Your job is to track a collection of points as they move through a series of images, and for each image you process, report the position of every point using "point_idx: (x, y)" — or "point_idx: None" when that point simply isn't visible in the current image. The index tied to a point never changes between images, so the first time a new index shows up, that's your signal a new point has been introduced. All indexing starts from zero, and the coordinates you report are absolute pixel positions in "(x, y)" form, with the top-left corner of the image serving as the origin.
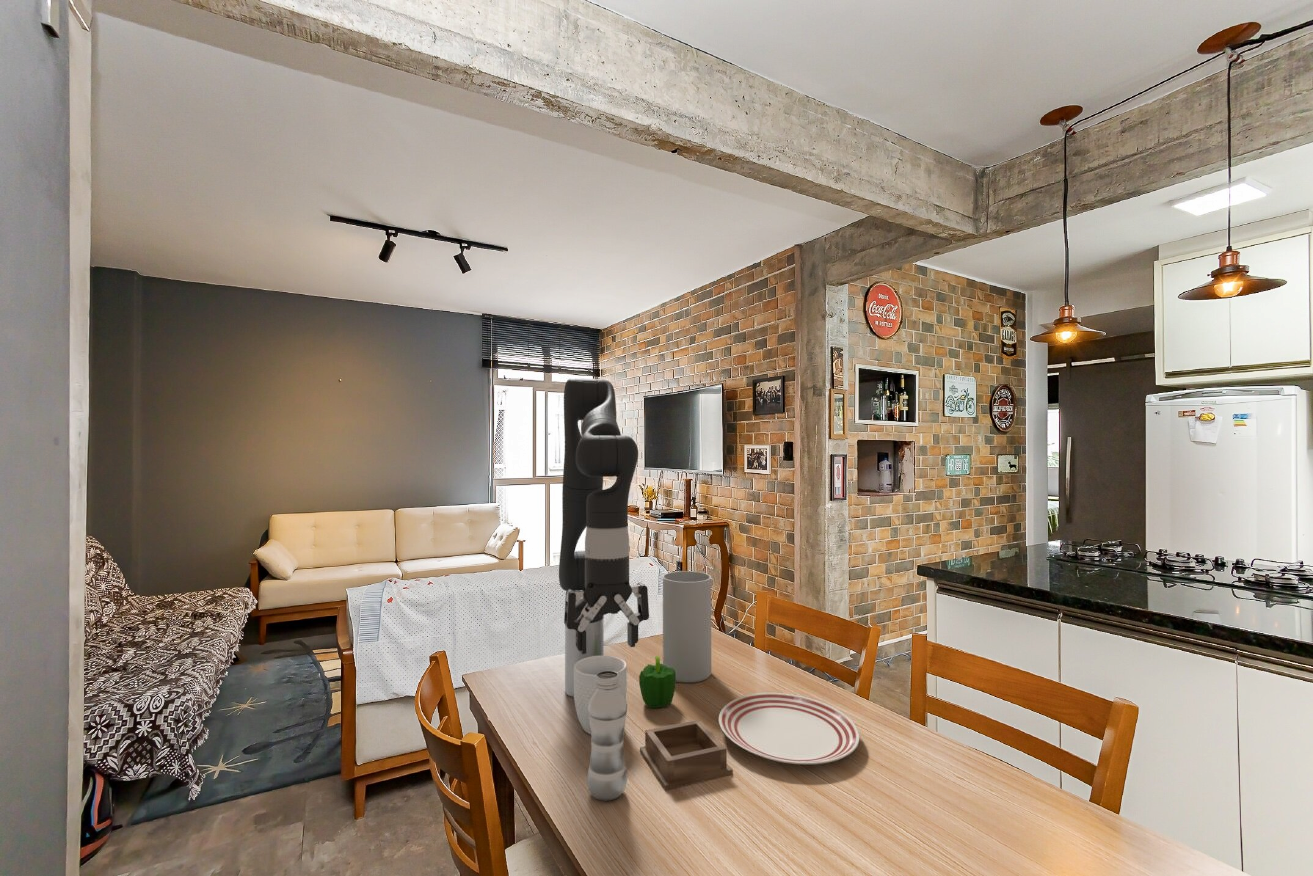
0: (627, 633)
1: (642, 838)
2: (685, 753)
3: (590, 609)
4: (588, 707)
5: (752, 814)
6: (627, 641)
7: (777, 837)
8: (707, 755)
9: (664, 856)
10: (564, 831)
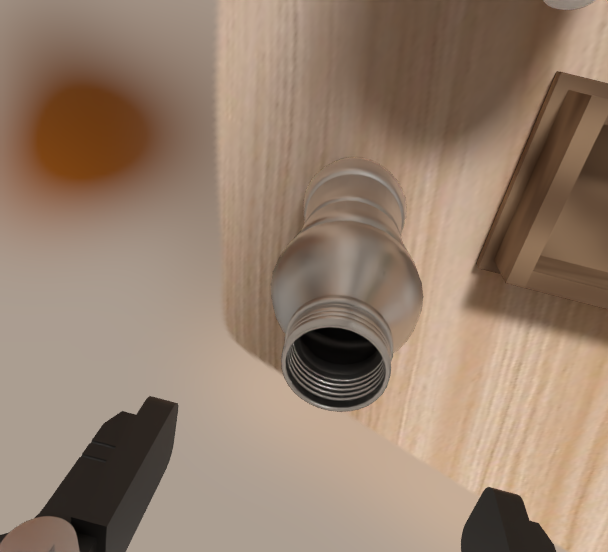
0: (508, 547)
1: None
2: (574, 282)
3: None
4: (275, 267)
5: (555, 413)
6: (495, 492)
7: (534, 467)
8: None
9: None
10: (224, 249)
